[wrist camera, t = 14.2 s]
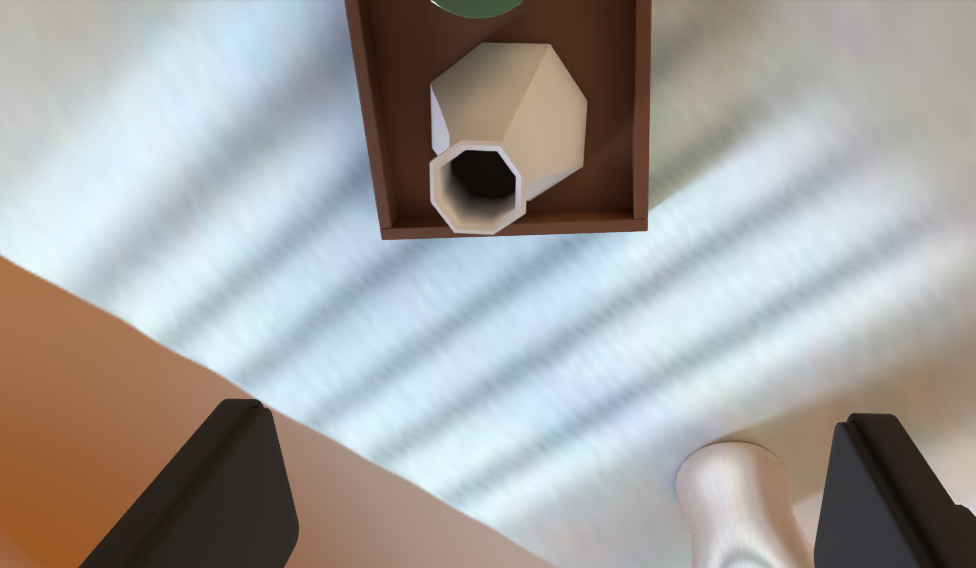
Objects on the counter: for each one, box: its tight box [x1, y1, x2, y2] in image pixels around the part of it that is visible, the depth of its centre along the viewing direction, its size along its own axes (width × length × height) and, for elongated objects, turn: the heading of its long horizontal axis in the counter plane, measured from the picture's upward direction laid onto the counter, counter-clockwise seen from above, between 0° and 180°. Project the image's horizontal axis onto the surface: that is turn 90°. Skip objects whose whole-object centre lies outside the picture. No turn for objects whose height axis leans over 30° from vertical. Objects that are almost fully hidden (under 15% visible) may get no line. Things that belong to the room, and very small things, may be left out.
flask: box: [430, 43, 588, 235], centre depth 26 cm, size 7×7×10 cm
